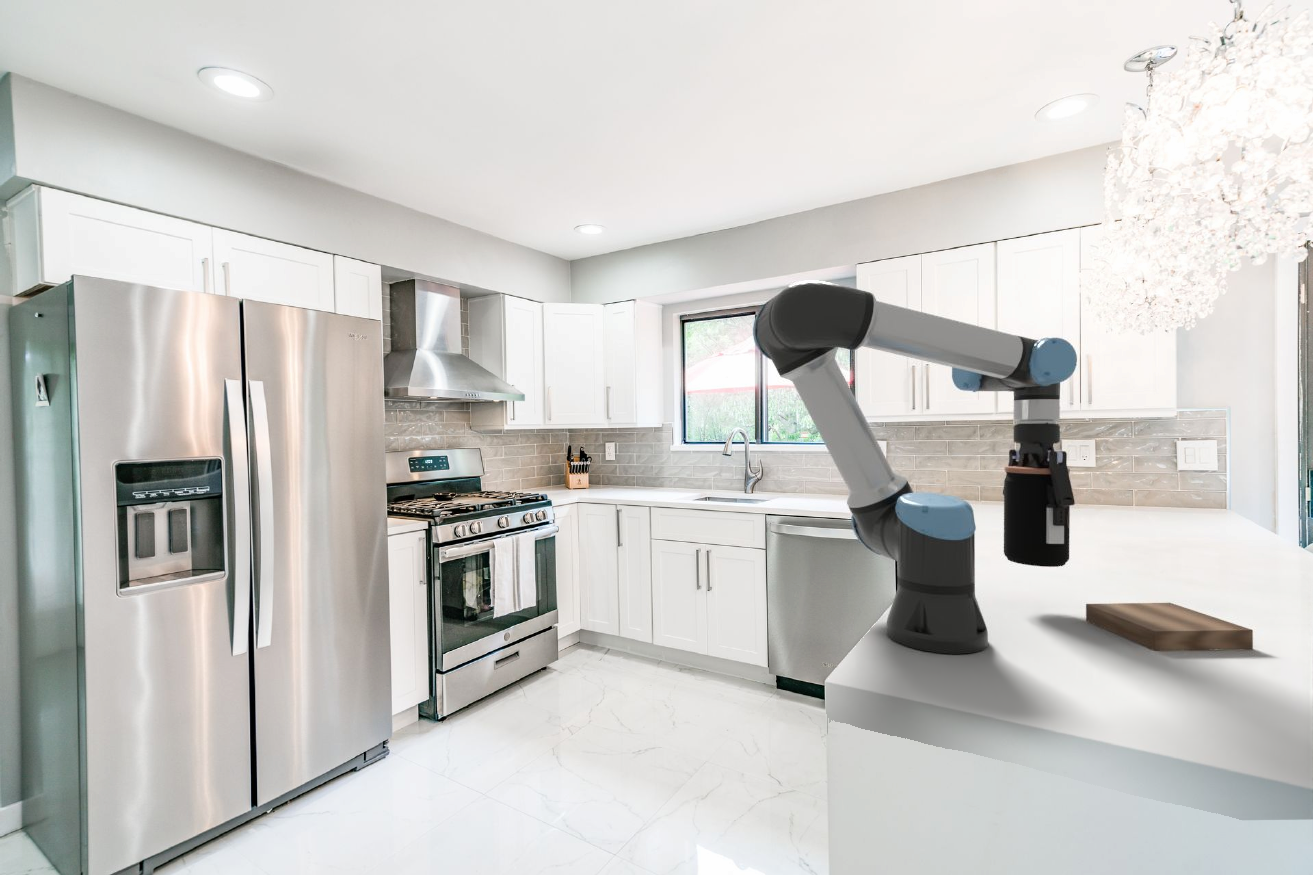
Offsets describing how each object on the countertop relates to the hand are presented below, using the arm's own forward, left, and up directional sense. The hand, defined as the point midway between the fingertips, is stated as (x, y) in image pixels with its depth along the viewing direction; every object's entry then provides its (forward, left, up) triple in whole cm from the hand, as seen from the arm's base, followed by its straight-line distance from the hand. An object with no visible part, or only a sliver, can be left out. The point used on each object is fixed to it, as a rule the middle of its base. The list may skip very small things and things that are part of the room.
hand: (1035, 538), depth 116 cm
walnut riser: (+11, -15, -13) cm, 23 cm away
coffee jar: (0, 0, -5) cm, 5 cm away
